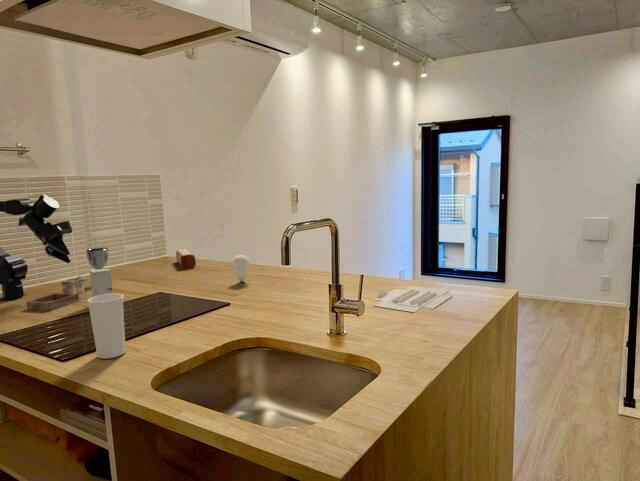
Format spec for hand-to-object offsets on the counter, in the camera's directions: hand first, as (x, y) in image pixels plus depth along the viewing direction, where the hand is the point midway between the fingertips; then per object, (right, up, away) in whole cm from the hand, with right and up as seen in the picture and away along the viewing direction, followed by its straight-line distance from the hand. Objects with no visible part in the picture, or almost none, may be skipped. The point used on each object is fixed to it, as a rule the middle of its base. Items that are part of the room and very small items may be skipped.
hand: (69, 258), depth 163 cm
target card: (+5, -14, +1) cm, 15 cm away
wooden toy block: (-1, -14, +5) cm, 15 cm away
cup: (+41, -21, -55) cm, 71 cm away
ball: (-7, -11, +21) cm, 25 cm away
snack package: (+25, -6, +58) cm, 63 cm away
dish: (-7, -12, +21) cm, 25 cm away
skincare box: (+17, -16, -9) cm, 25 cm away
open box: (-1, -16, -7) cm, 18 cm away
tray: (+122, -13, -16) cm, 124 cm away
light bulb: (+60, -10, +16) cm, 63 cm away
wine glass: (+2, -12, +20) cm, 23 cm away
